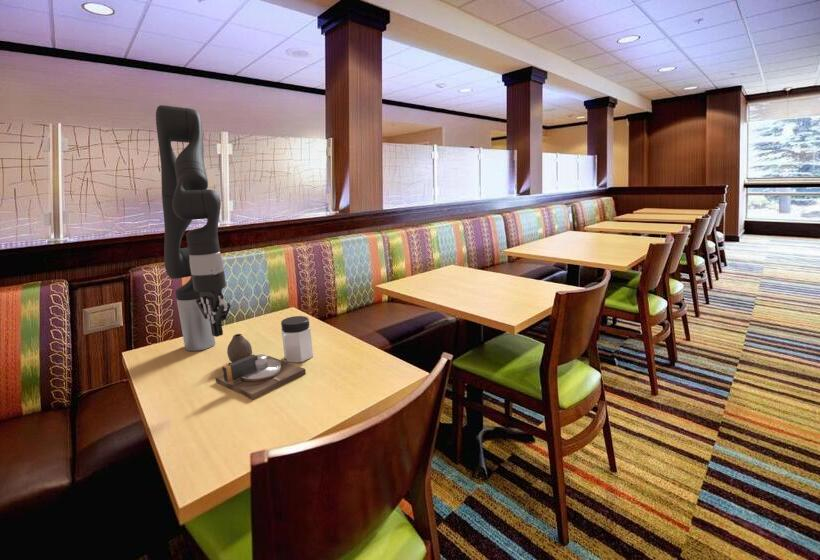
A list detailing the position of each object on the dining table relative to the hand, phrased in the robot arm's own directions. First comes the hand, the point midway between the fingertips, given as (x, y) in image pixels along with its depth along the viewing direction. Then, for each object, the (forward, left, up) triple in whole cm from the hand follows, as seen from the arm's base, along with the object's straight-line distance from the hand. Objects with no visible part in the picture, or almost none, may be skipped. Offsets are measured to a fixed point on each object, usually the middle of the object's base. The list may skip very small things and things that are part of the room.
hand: (217, 335), depth 112 cm
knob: (+5, +6, -12) cm, 15 cm away
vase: (-10, +11, -15) cm, 21 cm away
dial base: (+5, +8, -14) cm, 17 cm away
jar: (+2, +23, -15) cm, 27 cm away
